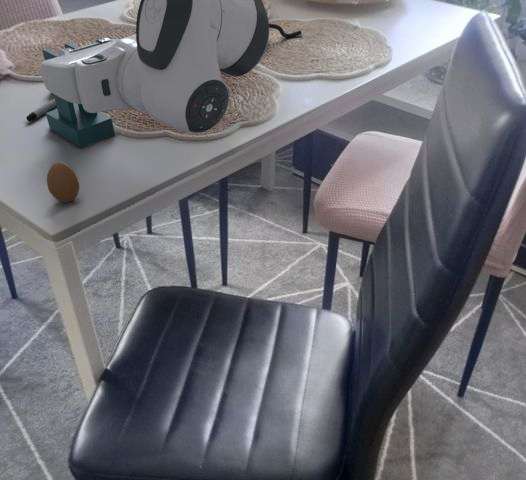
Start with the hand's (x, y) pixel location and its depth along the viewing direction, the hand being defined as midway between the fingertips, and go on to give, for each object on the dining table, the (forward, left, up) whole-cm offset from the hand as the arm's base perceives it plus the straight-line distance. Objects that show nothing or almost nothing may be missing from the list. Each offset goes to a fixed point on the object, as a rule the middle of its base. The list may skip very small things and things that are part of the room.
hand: (82, 48), depth 91 cm
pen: (+5, -19, -17) cm, 26 cm away
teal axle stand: (0, -6, -15) cm, 17 cm away
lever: (0, -3, -3) cm, 4 cm away
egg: (+14, +12, -16) cm, 24 cm away
